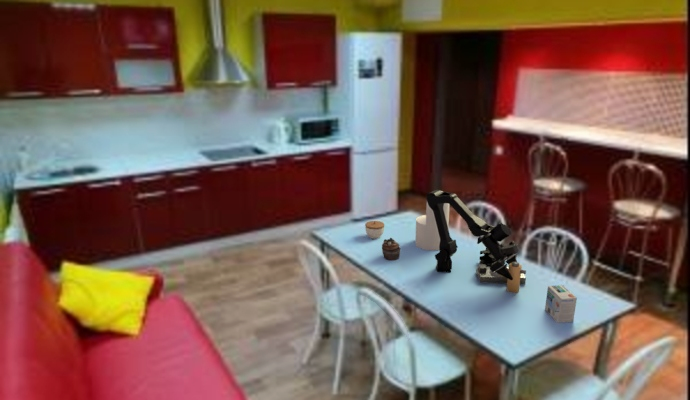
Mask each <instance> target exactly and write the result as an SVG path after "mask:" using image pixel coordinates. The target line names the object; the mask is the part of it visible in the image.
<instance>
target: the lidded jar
mask: <svg viewBox="0 0 690 400" xmlns="http://www.w3.org/2000/svg"><path fill="white" fill-rule="evenodd" d="M364 227H365V232H366V234H367V236H368V237H369V238H370V239H374V240H375V239H376V240H377V239H380V238H381V237H382V235H383V234H384V231H385V223H384V222H383V221H379V220H371V221H370V220H369V221H367V222H366V223H365V225H364Z"/></svg>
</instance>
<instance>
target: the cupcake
mask: <svg viewBox="0 0 690 400" xmlns="http://www.w3.org/2000/svg"><path fill="white" fill-rule="evenodd" d="M401 250H402V249H401V247H400V244H399V243H398V242H396V240H395V239H393V238H392V237H390V238H389V239H388V238H387V239H384V240H383V242H382V244H381V251H382V255H383V259H384V260H387V261H396V260H399V259H400V254H401Z"/></svg>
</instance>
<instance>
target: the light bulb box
mask: <svg viewBox="0 0 690 400" xmlns="http://www.w3.org/2000/svg"><path fill="white" fill-rule="evenodd" d="M545 299H546V300H545V305H544V309H545V311H546V312H547V313H548V314H549V315H550V316H551V318H552V319H553V320H554V321H555V322H556V323H557V324H560V323H563V324H564V323H574V320H575V319H574V318H575V313H576V306H577V299H578V297H577V296H576V295H574V293H573V292H571V291H570V289H568V288H567V287H566V286H565V285H562V284H561V285H560V284H559V285H548V286H547V292H546V298H545Z"/></svg>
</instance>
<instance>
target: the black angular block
mask: <svg viewBox="0 0 690 400" xmlns="http://www.w3.org/2000/svg"><path fill="white" fill-rule="evenodd" d="M488 253H489V251H488V250H487V248H486V247H485V250H480V252H479V255H481V256H479V264H485V266H486V267H490V266H491V265H492V264H493V263H494V260H495V259H494V257H493V256H492V255H491V254H490V255H489V254H488Z"/></svg>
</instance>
